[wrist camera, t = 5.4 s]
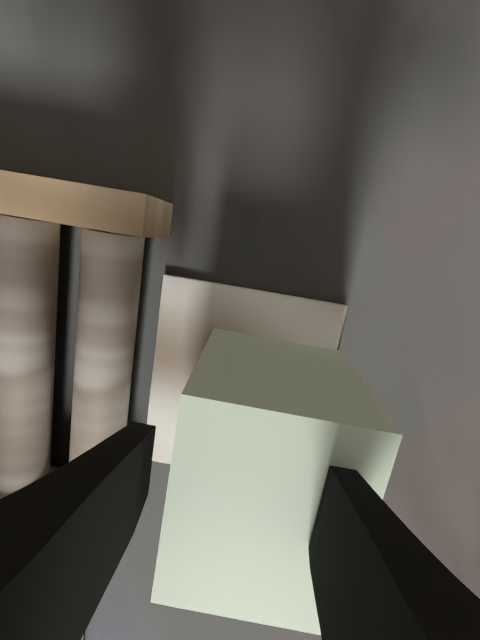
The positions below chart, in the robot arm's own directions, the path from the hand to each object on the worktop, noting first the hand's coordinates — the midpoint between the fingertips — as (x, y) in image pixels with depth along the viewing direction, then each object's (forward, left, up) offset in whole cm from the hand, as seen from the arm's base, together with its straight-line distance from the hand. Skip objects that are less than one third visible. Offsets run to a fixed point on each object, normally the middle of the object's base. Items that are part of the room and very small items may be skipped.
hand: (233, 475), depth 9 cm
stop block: (-1, -1, -5) cm, 6 cm away
